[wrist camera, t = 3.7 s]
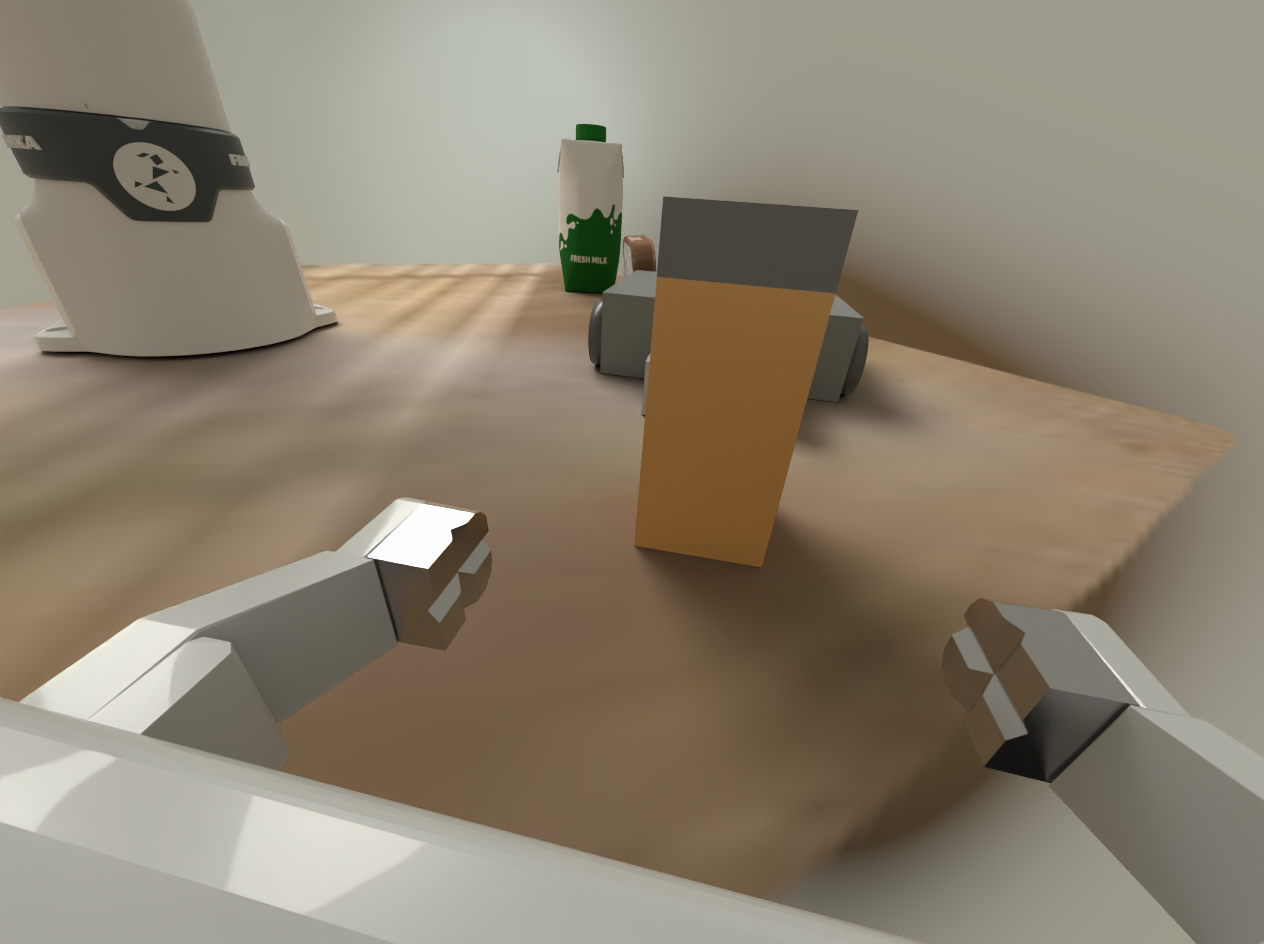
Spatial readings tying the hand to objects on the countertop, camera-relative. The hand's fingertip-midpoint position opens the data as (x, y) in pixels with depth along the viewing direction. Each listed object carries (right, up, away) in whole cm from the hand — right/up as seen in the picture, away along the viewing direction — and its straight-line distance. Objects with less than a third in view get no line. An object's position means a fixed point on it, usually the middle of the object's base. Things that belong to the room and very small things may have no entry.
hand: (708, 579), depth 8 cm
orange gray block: (+2, 0, +12) cm, 12 cm away
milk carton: (-8, +29, +62) cm, 69 cm away
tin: (-1, +22, +50) cm, 54 cm away
